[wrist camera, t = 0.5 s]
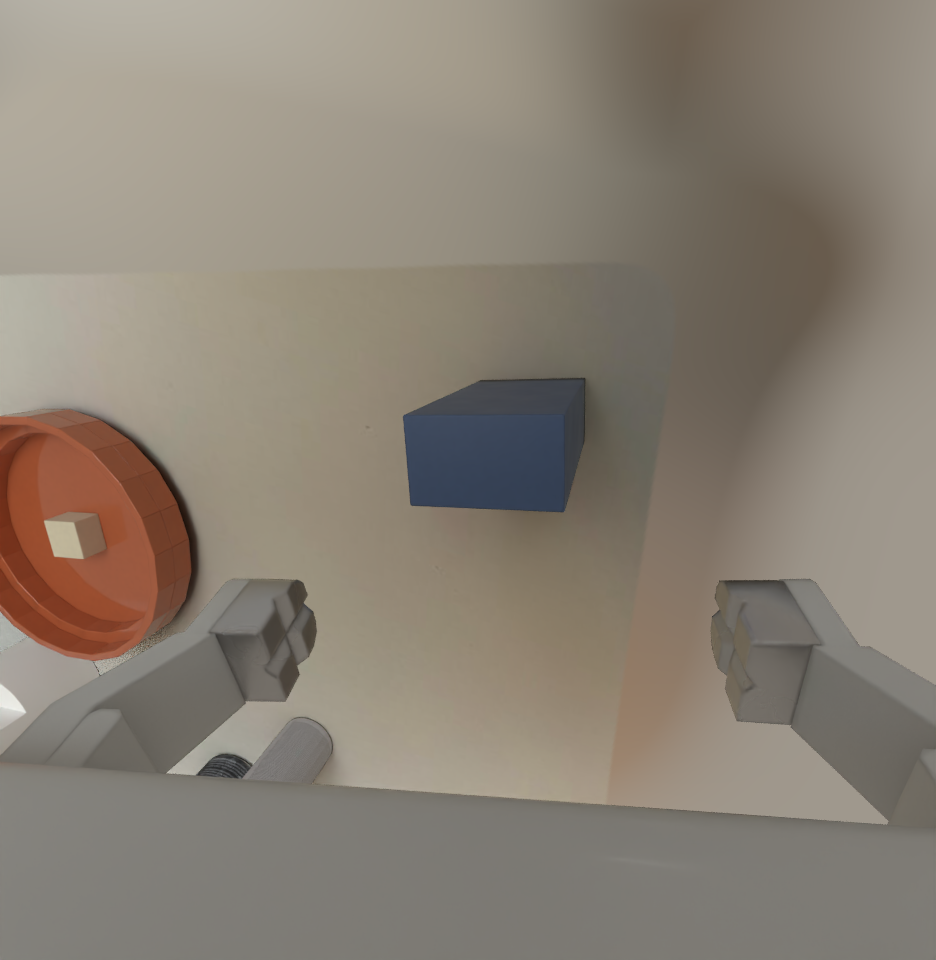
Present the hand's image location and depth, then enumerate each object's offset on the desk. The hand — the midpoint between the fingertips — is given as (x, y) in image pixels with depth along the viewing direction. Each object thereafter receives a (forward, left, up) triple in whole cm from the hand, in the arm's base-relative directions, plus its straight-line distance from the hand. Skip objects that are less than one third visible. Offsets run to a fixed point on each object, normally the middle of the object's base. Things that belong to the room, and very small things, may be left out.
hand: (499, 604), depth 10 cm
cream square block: (+19, -34, -20) cm, 44 cm away
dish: (+19, -34, -21) cm, 44 cm away
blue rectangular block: (0, -3, -21) cm, 21 cm away
